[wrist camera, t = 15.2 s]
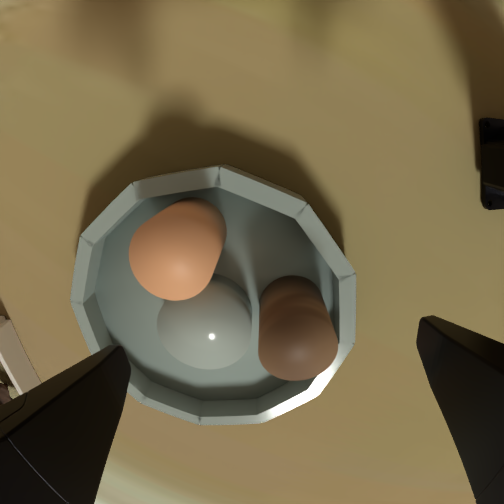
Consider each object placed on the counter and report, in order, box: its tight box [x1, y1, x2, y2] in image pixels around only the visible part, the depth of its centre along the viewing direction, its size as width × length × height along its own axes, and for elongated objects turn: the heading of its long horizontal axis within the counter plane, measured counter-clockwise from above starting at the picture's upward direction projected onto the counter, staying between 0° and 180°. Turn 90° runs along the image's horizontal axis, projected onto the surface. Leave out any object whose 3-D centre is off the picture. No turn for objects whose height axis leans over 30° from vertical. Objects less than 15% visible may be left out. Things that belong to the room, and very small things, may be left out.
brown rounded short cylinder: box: [258, 275, 338, 381], centre depth 17 cm, size 4×4×5 cm
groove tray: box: [70, 164, 356, 425], centre depth 19 cm, size 18×18×3 cm
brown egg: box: [129, 197, 227, 301], centre depth 16 cm, size 4×4×5 cm
